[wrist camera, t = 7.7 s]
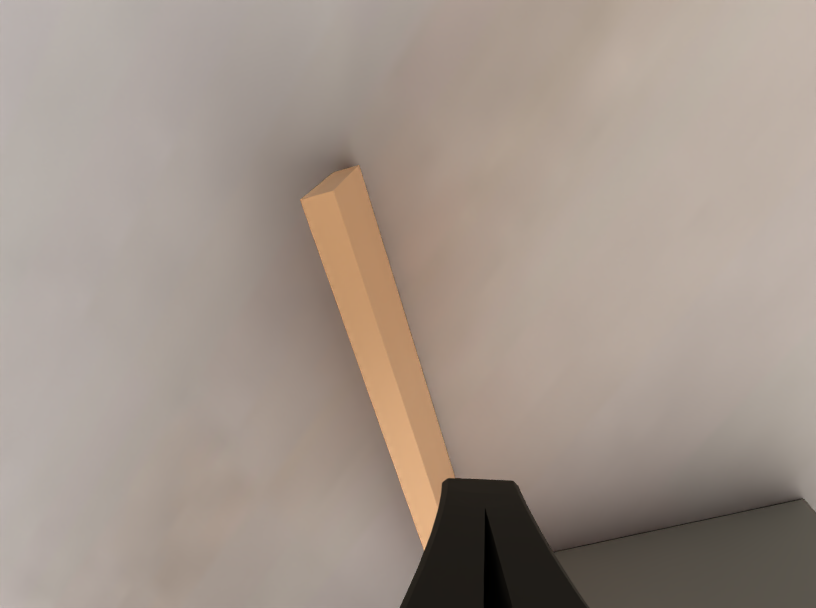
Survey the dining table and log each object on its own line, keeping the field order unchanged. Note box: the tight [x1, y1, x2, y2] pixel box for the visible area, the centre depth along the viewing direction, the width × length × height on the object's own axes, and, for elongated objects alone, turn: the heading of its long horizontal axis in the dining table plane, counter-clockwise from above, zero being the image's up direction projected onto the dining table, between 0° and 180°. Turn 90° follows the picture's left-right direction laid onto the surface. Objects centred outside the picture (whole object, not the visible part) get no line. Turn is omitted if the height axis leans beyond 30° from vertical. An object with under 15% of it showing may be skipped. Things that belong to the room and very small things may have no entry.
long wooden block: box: [300, 165, 455, 550], centre depth 17 cm, size 16×1×4 cm, turn 16°
